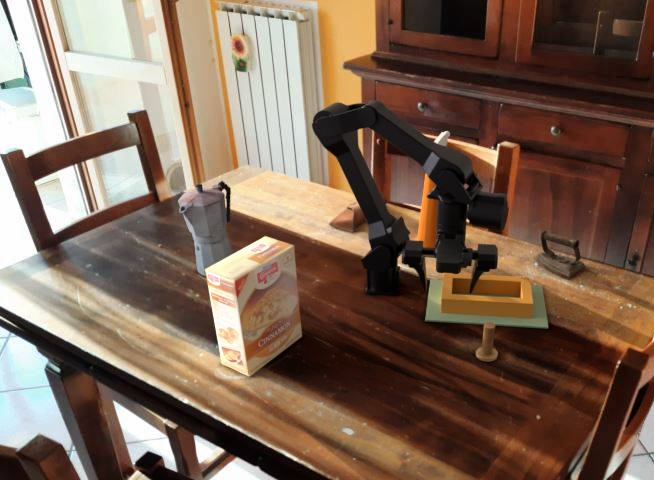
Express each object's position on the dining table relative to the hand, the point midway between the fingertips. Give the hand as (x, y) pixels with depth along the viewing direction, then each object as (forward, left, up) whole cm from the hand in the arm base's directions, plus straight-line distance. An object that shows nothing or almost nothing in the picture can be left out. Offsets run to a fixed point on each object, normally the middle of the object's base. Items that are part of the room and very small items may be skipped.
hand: (447, 291), depth 134 cm
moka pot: (-52, +9, -3) cm, 53 cm away
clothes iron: (+24, +18, -3) cm, 30 cm away
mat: (+8, 0, -2) cm, 8 cm away
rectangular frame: (+8, 0, -2) cm, 8 cm away
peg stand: (+8, -18, -2) cm, 20 cm away
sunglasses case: (-25, +39, -3) cm, 47 cm away
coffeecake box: (-33, -21, -3) cm, 39 cm away
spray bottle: (-4, +26, -3) cm, 26 cm away
